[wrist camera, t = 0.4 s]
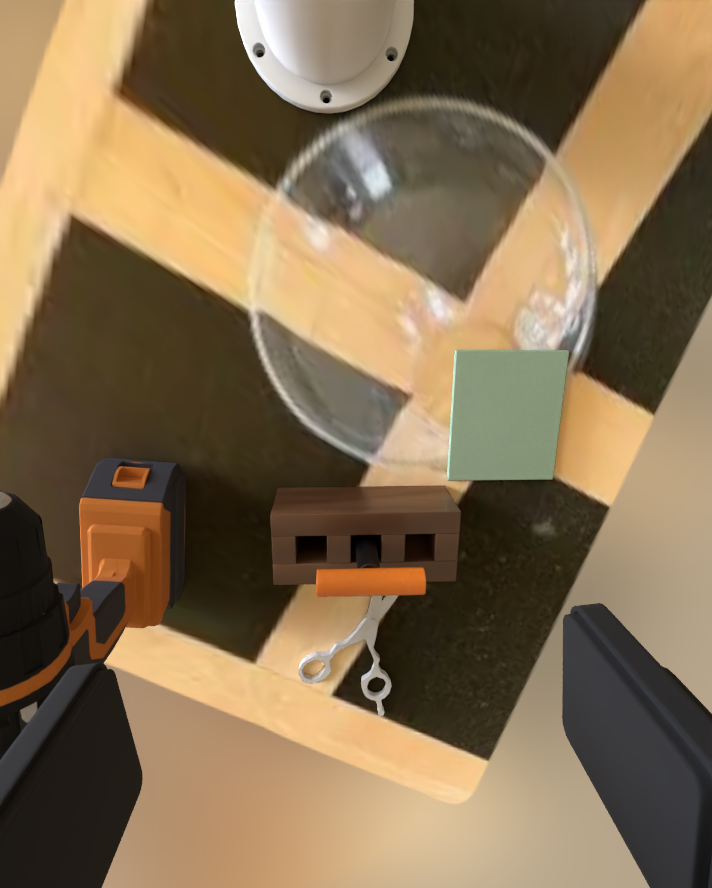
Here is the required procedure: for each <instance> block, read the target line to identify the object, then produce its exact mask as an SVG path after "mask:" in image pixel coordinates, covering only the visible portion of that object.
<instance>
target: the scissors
mask: <svg viewBox="0 0 712 888" xmlns="http://www.w3.org/2000/svg"><path fill="white" fill-rule="evenodd" d="M398 596H399V595H391V596H386V597H385V598H384V599H383V600H382V596H372V597H371V601H370V604H369V608H368V611H367V615H366V617H365V618H364V619H363V620H362V622H361V623H360V624H359V625H358V627H357V628H356V629H355V630H354V632H353V633H352V634H351V635H350V636H349V637H348V638H347V639H345V640H343V641H340V642H336V643H335V644H334V646H333V647H332V649H331V650H329V651H324V652H315V653H312V654H310V655H308V656H306V657H305V658H304V659H302V661H301V663H300V665H299V673H298V674H299V677H300V679H301V680H302V681H303V682H305V683H310V684H312V683H318V682H320V681H321V680H323V679H324V678H326V677H327V676H328V675H329V674H330V672H331V664H330V660H331V659H332V658H333V656H334V655H335V653H337V652H338V651H340V650H342V649H343V648H345V647H347V646H350V645H352V644H355V643H358V642H360V641H362V640H364V639H365V640H366V642H367V645H368V647H369V649H370V652H371V654H372V656H373V659H374V662H373V665H372V668H371V670H370V671H369V672H368V673H366V674H365V675H363V676H362V679H361V685H362V690H363V693H364V694H365V696H366V697H367V698H369V699H371V700H375V701H376V703H377V707H378V715H380V716H382V715H384V707H383V706H382V702H381V699H384V698H385V697H386V696H387V695H388V694H389V692H390V689H391V680H390V678H389V675H388V674H387V673H386V672H385V671H384V670H382V669H381V668H380V666H379V664H378V663H379V660H380V656H379V654H378V653H377V652H376V651H375V649H374V643H375V639H376V635H377V629H378V623H379V621H380V620H381V618H382V617H383V616H384V614H385V613H386V612H387V611H388V609H389V608H390V607H391V605H392V604H393V603H394V601H395V600H396V598H397V597H398ZM314 660H319V661H322V662H323V663H324V664H325V666H324V668H323V669H322V670H321V672H320V673H318V674H316V675H314V676H311V675H307V674H305V673H304V671H303V668H304V666H305V664H307V663H309V662H311V661H314ZM375 677H379V678H382V679H384V680H385V682H386V684H385V686H384V688H383V690H381V691H379V692H372V691H370V690H368V688H367V685H368V683H369V681H370V680H371V679H373V678H375Z"/></svg>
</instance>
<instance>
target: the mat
mask: <svg viewBox="0 0 712 888" xmlns="http://www.w3.org/2000/svg"><path fill="white" fill-rule="evenodd" d="M568 356H569V351H567V350H455V357H454V373H453V389H452V405H451V421H450V438H449V454H448V470H447V479H448V480H449V481H454V480H539V479H553V474H554V466H555V458H556V451H557V443H558V435H559V427H560V419H561V411H562V404H563V396H564V388H565V380H566V372H567V364H568Z"/></svg>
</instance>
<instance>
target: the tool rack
mask: <svg viewBox="0 0 712 888" xmlns="http://www.w3.org/2000/svg"><path fill="white" fill-rule="evenodd" d="M270 518H271V536H272V537H271V538H272V558H273V579H274V585H294V584H316V576H317V569H351V568H357V560H356V549H355V539H354V535H375V541H376V546H377V552H378V558H379V563H380V568H401V567H423V568H424V570H425V576H426V582H434V581H456V574H457V560H458V546H459V533H460V520H461V511H460V509H459V508H458V506H457V505H456V503H455V501H454V500H453V498H452V496H451V495H450V493H449V491H448V490H447V488H446V486H385V487H304V488H278V490H277V494H276V497H275V501H274V504H273V508H272V511H271V515H270Z"/></svg>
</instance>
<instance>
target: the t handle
mask: <svg viewBox="0 0 712 888" xmlns="http://www.w3.org/2000/svg"><path fill="white" fill-rule="evenodd" d="M354 539H355V549H356V560H357V568H351V569H317V576H316V592H317V597H346V596H391V595H424V594H425V592H426V576H425V570H424V568H423V567H401V568H380V563H379V558H378V552H377V546H376V541H375V535H354Z"/></svg>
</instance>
